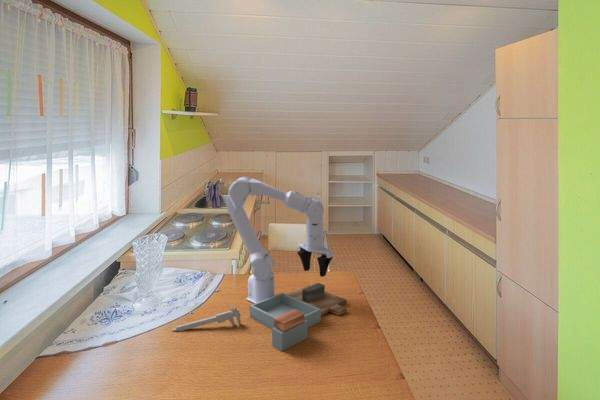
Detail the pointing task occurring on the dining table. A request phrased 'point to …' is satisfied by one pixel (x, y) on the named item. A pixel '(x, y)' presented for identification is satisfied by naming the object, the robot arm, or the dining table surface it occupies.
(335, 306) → the lid
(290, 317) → the salmon pink block
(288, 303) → the blue grey tray
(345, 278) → the dining table surface
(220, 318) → the caliper
